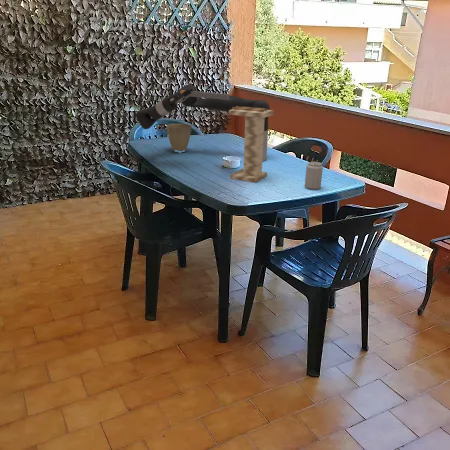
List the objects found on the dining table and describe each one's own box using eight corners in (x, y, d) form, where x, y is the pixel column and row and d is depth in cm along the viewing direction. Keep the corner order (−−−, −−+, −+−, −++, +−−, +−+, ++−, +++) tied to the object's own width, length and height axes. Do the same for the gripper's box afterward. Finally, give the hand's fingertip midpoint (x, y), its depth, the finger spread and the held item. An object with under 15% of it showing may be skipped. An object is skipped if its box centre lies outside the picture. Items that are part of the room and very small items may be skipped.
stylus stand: (226, 178, 226) (228, 108, 214) (238, 171, 238) (240, 105, 225) (259, 183, 219) (263, 111, 206) (270, 176, 230) (274, 108, 218)
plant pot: (163, 150, 281) (162, 124, 276) (185, 148, 288) (185, 123, 282) (172, 155, 269) (171, 128, 263) (195, 153, 276) (195, 126, 270)
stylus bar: (180, 95, 229) (180, 90, 229) (183, 95, 231) (183, 90, 231) (226, 99, 219) (226, 94, 218) (228, 99, 221) (229, 94, 220)
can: (308, 190, 210) (311, 165, 205) (301, 186, 216) (304, 161, 212) (323, 189, 212) (326, 164, 207) (316, 185, 218) (318, 160, 214)
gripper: (155, 100, 230) (180, 84, 221) (170, 97, 242) (195, 82, 233) (162, 114, 231) (187, 98, 222) (176, 111, 243) (201, 96, 233)
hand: (191, 90), depth 227 cm, fingers closed on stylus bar, 2 cm apart
